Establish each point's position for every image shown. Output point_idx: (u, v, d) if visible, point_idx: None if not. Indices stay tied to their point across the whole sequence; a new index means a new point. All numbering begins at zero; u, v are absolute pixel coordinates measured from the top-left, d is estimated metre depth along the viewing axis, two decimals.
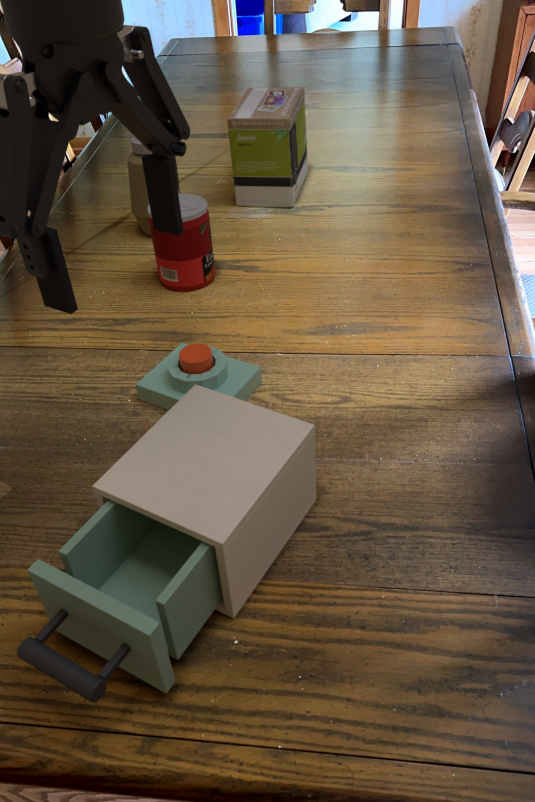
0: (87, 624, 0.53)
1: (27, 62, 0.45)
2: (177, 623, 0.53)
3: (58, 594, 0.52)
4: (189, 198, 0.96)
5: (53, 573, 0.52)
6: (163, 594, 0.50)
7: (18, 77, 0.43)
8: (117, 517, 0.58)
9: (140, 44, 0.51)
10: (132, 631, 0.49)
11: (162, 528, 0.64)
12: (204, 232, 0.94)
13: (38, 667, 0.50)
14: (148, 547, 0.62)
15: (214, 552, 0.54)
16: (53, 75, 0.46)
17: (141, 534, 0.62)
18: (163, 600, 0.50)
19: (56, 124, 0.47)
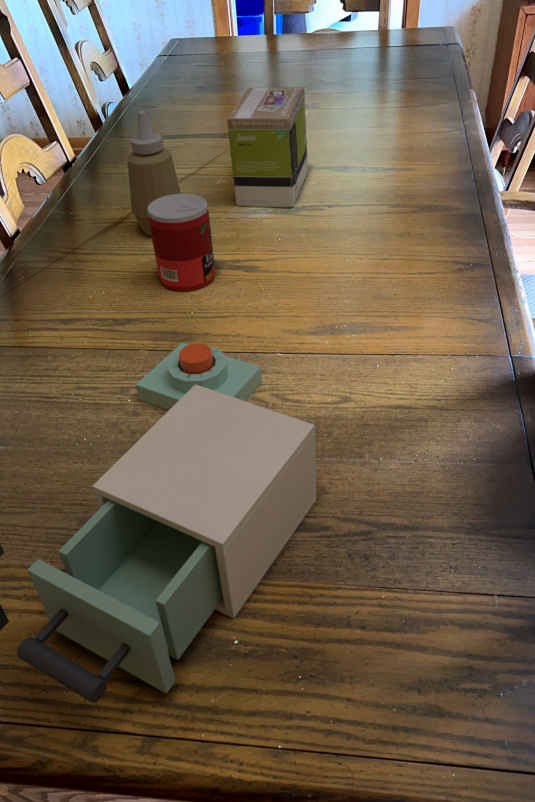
0: (87, 624, 0.53)
1: None
2: (177, 623, 0.53)
3: (58, 594, 0.52)
4: (189, 198, 0.96)
5: (53, 573, 0.52)
6: (163, 594, 0.50)
7: None
8: (117, 517, 0.58)
9: None
10: (132, 631, 0.49)
11: (162, 528, 0.64)
12: (204, 232, 0.94)
13: (38, 667, 0.50)
14: (148, 547, 0.62)
15: (214, 552, 0.54)
16: None
17: (141, 534, 0.62)
18: (163, 600, 0.50)
19: None
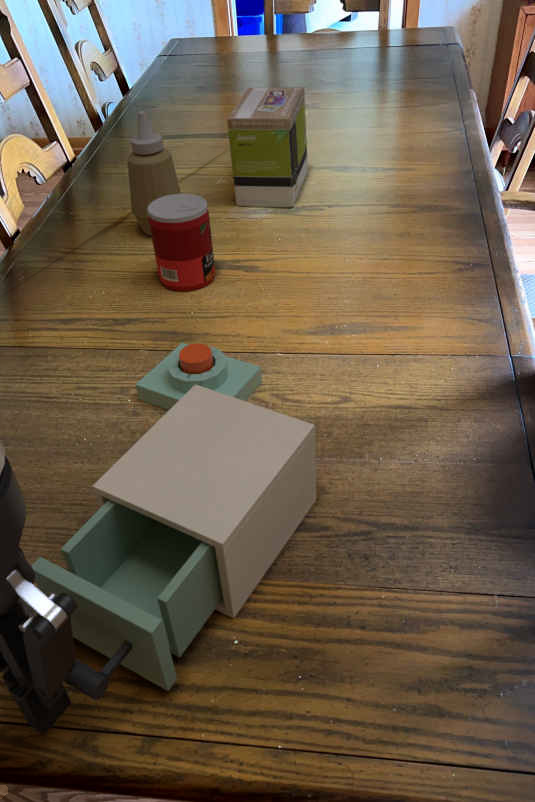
0: (89, 622, 0.53)
1: None
2: (179, 620, 0.53)
3: (61, 591, 0.52)
4: (189, 198, 0.96)
5: (55, 571, 0.52)
6: (165, 592, 0.51)
7: None
8: (118, 515, 0.58)
9: (27, 628, 0.37)
10: (134, 628, 0.49)
11: (164, 526, 0.64)
12: (204, 232, 0.94)
13: None
14: (150, 545, 0.62)
15: None
16: None
17: (143, 532, 0.62)
18: (164, 597, 0.50)
19: None
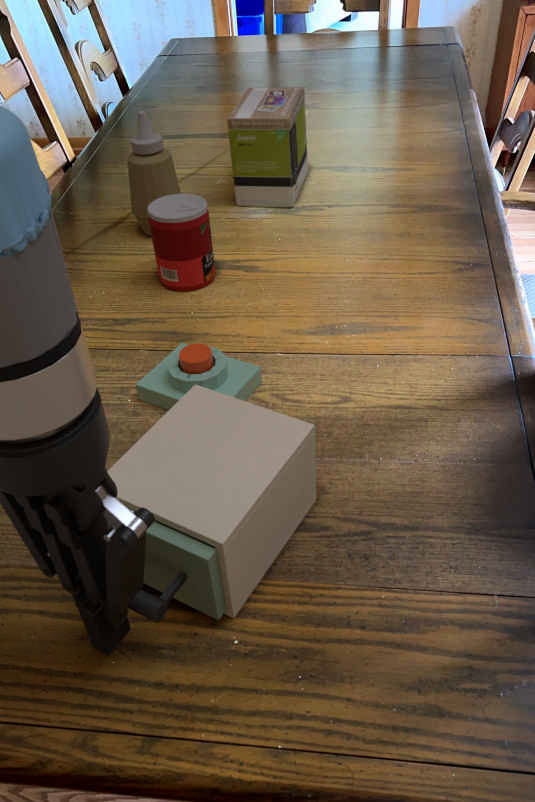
0: (145, 556, 0.57)
1: None
2: None
3: None
4: (189, 198, 0.96)
5: None
6: None
7: None
8: None
9: (112, 537, 0.42)
10: (190, 558, 0.53)
11: None
12: (204, 232, 0.94)
13: None
14: None
15: None
16: None
17: None
18: None
19: None
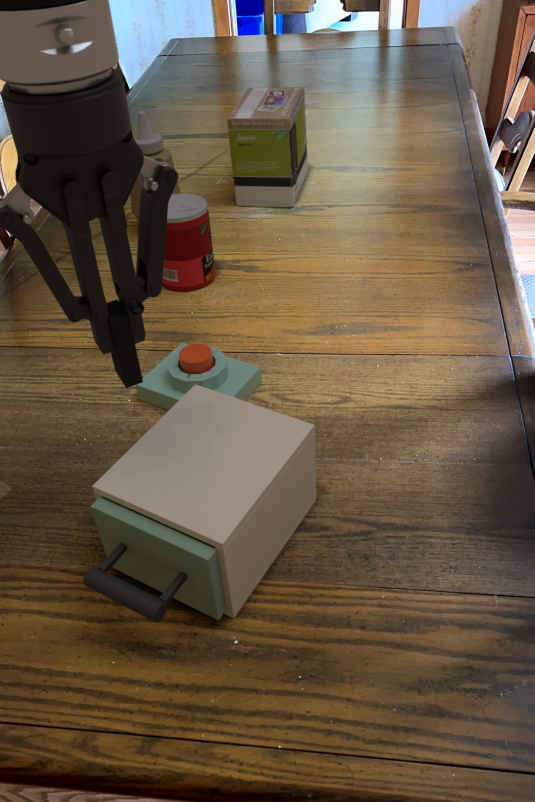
0: (145, 556, 0.57)
1: (20, 163, 0.46)
2: None
3: (120, 527, 0.56)
4: (189, 198, 0.96)
5: (115, 508, 0.57)
6: None
7: (1, 214, 0.46)
8: None
9: (160, 179, 0.50)
10: (190, 558, 0.53)
11: None
12: (204, 232, 0.94)
13: (103, 592, 0.54)
14: None
15: None
16: (36, 183, 0.46)
17: None
18: None
19: (71, 232, 0.49)
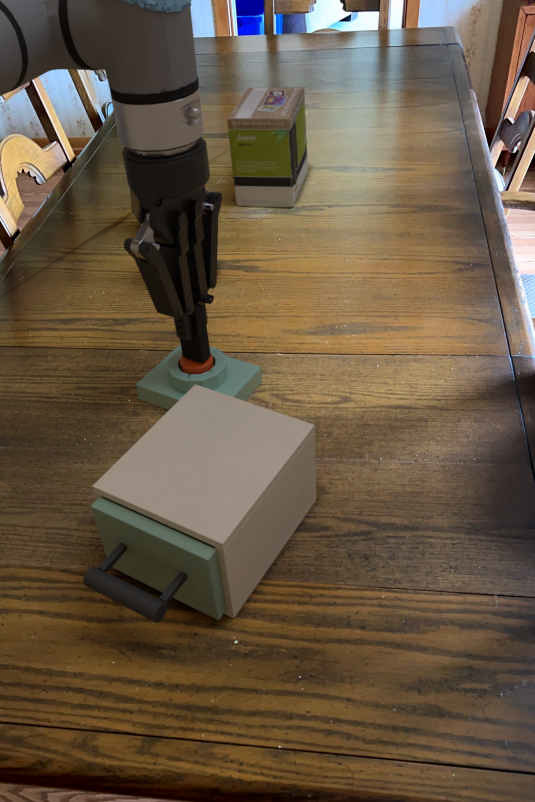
0: (145, 556, 0.57)
1: (143, 208, 0.64)
2: None
3: (120, 527, 0.56)
4: None
5: (115, 508, 0.57)
6: None
7: (146, 246, 0.63)
8: None
9: (214, 201, 0.71)
10: (190, 558, 0.53)
11: None
12: None
13: (103, 592, 0.54)
14: None
15: None
16: (161, 219, 0.64)
17: None
18: None
19: (175, 251, 0.68)
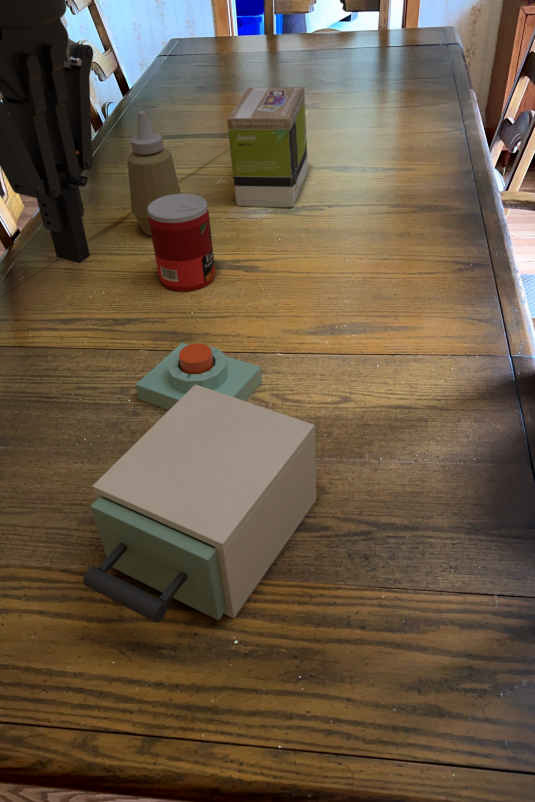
0: (145, 556, 0.57)
1: None
2: None
3: (120, 527, 0.56)
4: (189, 198, 0.96)
5: (115, 508, 0.57)
6: None
7: None
8: None
9: (82, 55, 0.58)
10: (190, 558, 0.53)
11: None
12: (204, 232, 0.94)
13: (103, 592, 0.54)
14: None
15: None
16: (2, 59, 0.51)
17: None
18: None
19: (28, 108, 0.55)
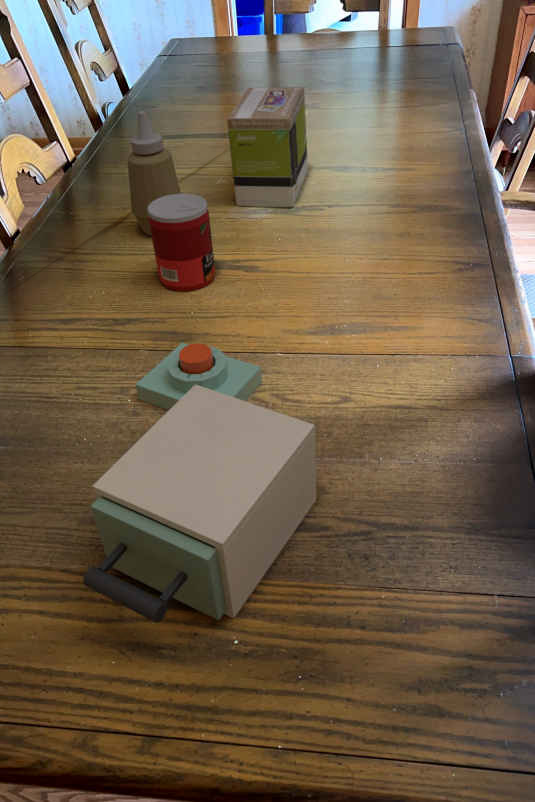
0: (145, 556, 0.57)
1: None
2: None
3: (120, 527, 0.56)
4: (189, 198, 0.96)
5: (115, 508, 0.57)
6: None
7: None
8: None
9: None
10: (190, 558, 0.53)
11: None
12: (204, 232, 0.94)
13: (103, 592, 0.54)
14: None
15: None
16: None
17: None
18: None
19: None
